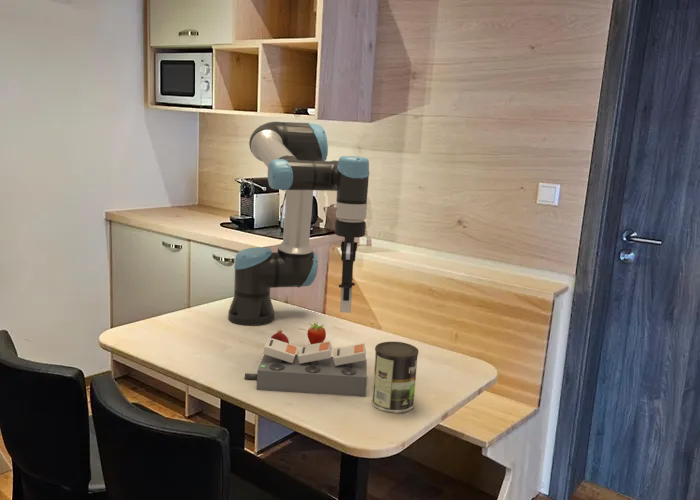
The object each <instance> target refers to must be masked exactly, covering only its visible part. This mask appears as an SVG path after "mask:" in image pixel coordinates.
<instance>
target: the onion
mask: <svg viewBox="0 0 700 500" xmlns="http://www.w3.org/2000/svg"><path fill="white" fill-rule="evenodd" d="M270 338H273V339H276V340H279V341H282V342H286V343H289V344H290V340H289V338H288V337H287V335H286V334H285V333H283V330H281V329H278V330H277V331H276V333H274V334H273V335H271V336H270Z"/></svg>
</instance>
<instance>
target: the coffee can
mask: <svg viewBox="0 0 700 500" xmlns="http://www.w3.org/2000/svg"><path fill="white" fill-rule="evenodd" d="M374 350H375V351H374V352H375V353H374V372H373V383H372V384H373V387H372V399H371V404H372V405H373V407H375V408H376V409H378V410H380V411H382V412H386V413H392V414H393V413H394V414H398V413H399V414H400V413H406V412H410V411H411V410H412V409H414V405H415V403H414V402H415V400H414V399H415V391H416V389H415V388H416V380H417V379H416V377H417V368H418V356H419V348H417V347H416V346H414V345H412V344H410V343H405V342H401V341H384V342H379V343H377V344H376V345H375V348H374Z"/></svg>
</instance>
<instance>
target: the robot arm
mask: <svg viewBox="0 0 700 500" xmlns="http://www.w3.org/2000/svg"><path fill="white" fill-rule="evenodd" d="M248 145H249V149H250V152H251V154H252V155H253V157H254V158H255V159H257V160H259V161H260V162H263V163H264V165H265V166H266V167H267V182H268V186H269V187H270V188H271V189H272V190H279V191H284V192H286V193H285V205H284V207H285V209H284V220H283V236H282V237H283V238H282V242H281V243H279V245H277V252H274V251H272V249H271V248H269V247H266V246H265V247H261V246H257V247H249V248H245V249H242V250H240V251H238V252H237V253H236V255H235V257H234V259H235V260H234V265H233V266H234V267H233V268H234V291H233V293H234V295H233V297H232V301H231V303H230V307H229V309H228V312H227V313H228V314H227V316H228V317H227V318H228V320H229V321H230V322H231V323H233V324H236V325H241V326H262V325H267V324H270V323H272V322H274V321H275V317H276V316H275V315H276V314H275V313H276V312H275V309H274V305H273V303H272V299H271V288H277V289H278V288H301V287H309V286H311V285H312V284H313V283H314V282H315V279H316V278H317V275H318V268H319V263H318V261H319V259H318V258H319V257H318V255H317V253H316V252H315V251H314V248H313V247H312V245H311V244H310V237H311V236H310V235H311V223H312V210H313V200H314V199H313V197H314V191H323V192H324V191H326V192H336V201H335V202H336V204H334V205H333V209H334V210H335V218H336V219H335V221H334V222H335V223H334V234H335V235H336V236H338V237H344V241H341V243H340V250H341V262H342V268H341V269H342V272H341V273H342V274H341V284H338V288H339V289H341V290H340V302H339V303H340V304H339V305H340V307H339V313H350V314H351V313H352V299H353V298H352V296H353V287H355V285H356V283H355V282H353V281H354V277H353V275H354V274H353V273H354V262H355V261H356V257H357V255H356V254H357V250H358V241H356V242H355V238H362V237H364V236H366V226H367V224H366V222H365V220H366V219H367V213H368V211H367V209H368V192H369V191H368V190H369V179H370V178H369V177H370V161H369V159H368V157H364V156H355V155H342V156H340V157H339V158H338V160H335V159H334V160H329V161H327V159H328V158H327V157H328V154H329V152H328V151H329V146H328V145H329V143H328V138H327V134H326V131H325V129H324V128H323V126H322V125H320V124H316V123H310V122H295V121H294V122H290V121H289V122H287V121H270V122H266V123H263V124H261V125H259V126H258V127H257V128H255V130H253V132H252V134H251V135H250V137H249V142H248Z"/></svg>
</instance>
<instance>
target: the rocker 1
mask: <svg viewBox="0 0 700 500" xmlns="http://www.w3.org/2000/svg"><path fill="white" fill-rule="evenodd" d="M298 348H299V347H298V346H297V345H295V344H291V343H290V342H289V343H286V342H282V341H279V340H276V339H273V338H271V336H268V338H267V340H266V343H265V345H264V347H263V351H262V355H264V354H265V355H268V356H271V357H274V358H278V359H281V360H284V361H287V362H290V363H293V360H294V357H295V355H297V354H296V353H297V349H298Z"/></svg>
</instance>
